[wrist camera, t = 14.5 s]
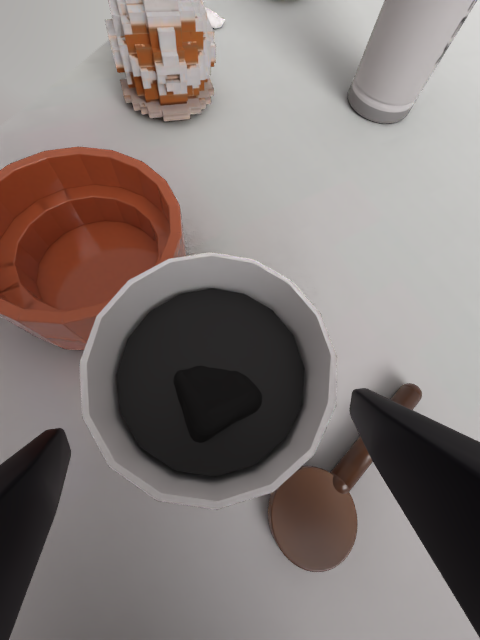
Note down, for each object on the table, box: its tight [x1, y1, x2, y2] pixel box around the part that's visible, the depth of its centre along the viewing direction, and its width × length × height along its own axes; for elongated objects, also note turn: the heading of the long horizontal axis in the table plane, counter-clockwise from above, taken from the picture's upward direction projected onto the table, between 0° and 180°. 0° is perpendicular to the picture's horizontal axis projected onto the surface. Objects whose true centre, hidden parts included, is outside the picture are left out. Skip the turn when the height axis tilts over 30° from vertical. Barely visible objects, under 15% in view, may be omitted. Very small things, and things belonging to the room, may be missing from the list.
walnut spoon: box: [268, 383, 422, 572], centre depth 16 cm, size 12×4×1 cm, turn 133°
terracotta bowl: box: [0, 147, 186, 350], centre depth 17 cm, size 11×11×5 cm
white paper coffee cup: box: [79, 252, 337, 510], centre depth 12 cm, size 7×7×10 cm
